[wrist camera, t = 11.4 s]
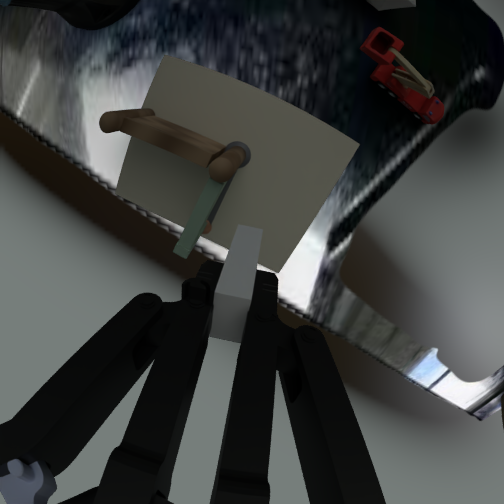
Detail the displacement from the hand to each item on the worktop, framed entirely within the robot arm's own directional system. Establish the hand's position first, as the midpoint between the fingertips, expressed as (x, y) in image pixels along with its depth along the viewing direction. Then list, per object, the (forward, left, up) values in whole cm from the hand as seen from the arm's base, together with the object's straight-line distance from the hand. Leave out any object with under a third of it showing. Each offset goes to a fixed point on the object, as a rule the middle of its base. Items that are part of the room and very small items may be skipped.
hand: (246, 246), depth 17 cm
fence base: (-11, +1, -21) cm, 23 cm away
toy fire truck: (+9, +20, -21) cm, 30 cm away
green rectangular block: (-5, -6, -20) cm, 21 cm away
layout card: (-5, -1, -21) cm, 21 cm away
